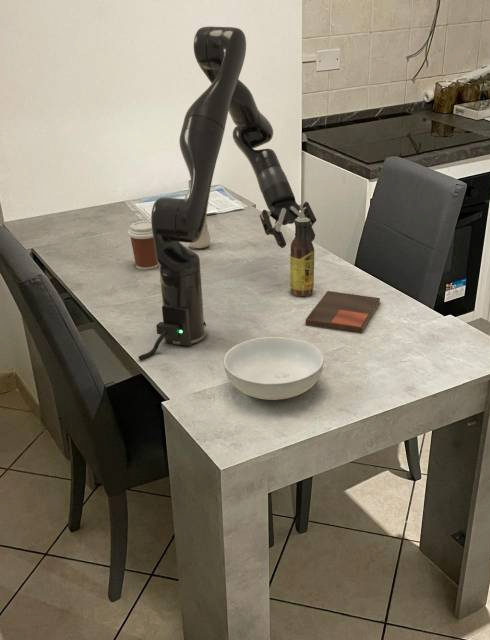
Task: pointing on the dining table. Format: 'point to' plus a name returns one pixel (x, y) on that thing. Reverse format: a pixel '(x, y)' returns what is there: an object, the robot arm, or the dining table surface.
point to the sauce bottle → (302, 259)
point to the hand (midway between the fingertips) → (298, 243)
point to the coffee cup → (143, 245)
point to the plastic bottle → (205, 236)
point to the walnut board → (343, 312)
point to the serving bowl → (273, 367)
